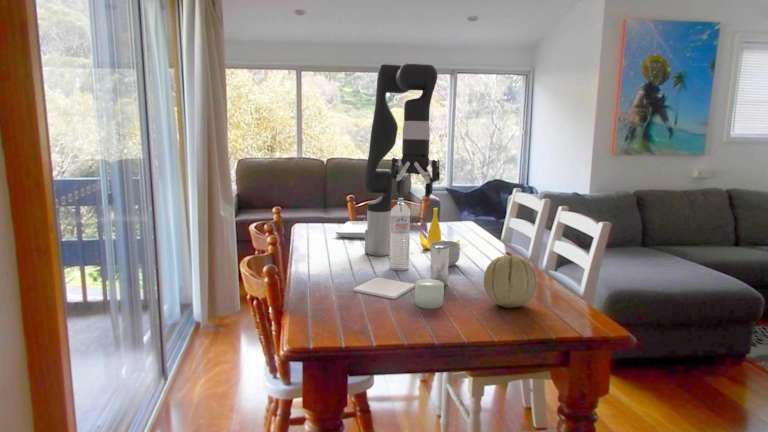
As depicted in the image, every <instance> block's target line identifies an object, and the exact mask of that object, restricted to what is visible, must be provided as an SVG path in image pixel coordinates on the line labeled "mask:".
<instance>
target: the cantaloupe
mask: <svg viewBox="0 0 768 432" xmlns="http://www.w3.org/2000/svg"><path fill="white" fill-rule="evenodd" d="M537 282H538V281H537V274H536V272H535V269H534V268H533V266H532V265H531V264H530V262H529V261H528V260H526V259H525V258H522V257H519V256H516V255H513V253H511V252H509V251H506V252H505V255H502V256H498V257H496V258H495V259H493V260H492V261H490V263H489V264H488V265H487V266H486V269H485V271H484V275H483V288H484V290H485V293H486V296H488V298H489V299H490V300H491V301H492V302H493V303H495V304H496V305H498V306H500V307H503V308H508V309H512V308H518V307H521V306H524V305H526V304H527V303H529V301H531V299H533V297H534V295H535V294H536V289H537V286H538V285H537V284H538V283H537Z"/></svg>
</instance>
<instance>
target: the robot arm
mask: <svg viewBox="0 0 768 432" xmlns="http://www.w3.org/2000/svg"><path fill="white" fill-rule="evenodd" d="M376 78H377V79H376V80H377V81H376V91H375V92H376V93H375V103H374V104H375V106H374V107H375V108H374V113H373V120H372V124H371V133H370V140H369V142H370V143H369V150H368V157H367V162H366V167H365V171H364V176H363V188H364V191H365V192H366V193H367V194H368V193H369V194H381V196H379V197H378V198H376V199H374V200H371V201H369V202H368V203H367V208H366V209H367V210H366V211H367V212H366V213H367V214H366V215H367V216H366V217H367V218H366V221H367V229H365V238H364V253H365V254H367V255H370V256H376V257H377V256H379V257H382V256H390V232H391V209H392V201H393V199H392V197H393V185H394V180H396V192H397V193H398V195H403V194H404V192H405V191H404V190H405V181H404V179H406V177H407V176H408V175H409V174H410V175H412V174H414V175H420V176H421V177H422V178H423V179H424V180H425V186H424V187H425V188H424V189H425V190H424V191H425V192H424V195H425V196H424V197H426V198H429V197H431V195H432V194H433V190H434V189H433V187H434V186H433V184H434V183H436V182H438V181H440V178H441V175H440V172H441V171H440V160H439V159H430V157H429V156H430V137H431V133H430V131H431V130H430V109H431V108H430V107H431V103H432V102H431V101H432V98H433V93H434V91H435V88H436V85H437V81H438V71H437V69H436V67H435V65H433V64H426V63H404V64H393V63H392V64H391V63H382V64H381V65H380V66H379V68H378V72H377V77H376ZM410 91H421V92H422V93H421V95H420V96H419V97H416V98H411V99H407V100H406V101H405V102H404V110H403V111H404V112H403V127H402V144H401V147H402V148H401V150H402V151H401V152H402V155H401V156H402V157H401V158H399V157H392V158H391V167H390V168H391V169H389V168H388V169H387V168H378V166H379V164H380V163H381V161H382V160H384V158H385V157H386V156H387V155H388V154H389V153H390V152H391V150H392V149H393V148H394V147H395V145H396V140H397V136H398V129H399V128H398V127H399V125H398V122H397V121H396V118H395V115H394V114H393V113H392V111H391V109H390V106H389V104H388V101H387V93H390V94H405V93H409V92H410ZM400 165H402V169H401V170H400ZM428 167H430V168H431V172H430V171H429V169H428Z"/></svg>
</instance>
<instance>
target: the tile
mask: <svg viewBox="0 0 768 432" xmlns="http://www.w3.org/2000/svg"><path fill="white" fill-rule="evenodd" d="M414 288H415V283H411V282H405V281H399V280H396V279H395V280H394V279H388V278H384V277H377V276H376V277H375V278H373V279H370V280H368V281H365V282H364V283H362V284H359V285H358V286H356V287H354V288H353V292H357V293H361V294H366V295H367V294H368V295H373V296H377V297H382V298H387V299H393V300H396V299H397V298H399V297H401V296H402V295H403V294H404V295H405V293H408V292H409V291H411V290H412V289H414Z"/></svg>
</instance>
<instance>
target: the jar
mask: <svg viewBox="0 0 768 432" xmlns="http://www.w3.org/2000/svg"><path fill="white" fill-rule="evenodd" d="M414 284H415V287H414V288H415V289H414V292H415V293H414V304H415V305H416V307H420V308H422V309H439V308H441V307H443V306H444V295H445V294H444V291H445V288H444V287H445V286H444V283H443V282H441V281H439V280H434V279H430V278H425V279H424V278H423V279H418V280H416V281H415V283H414Z"/></svg>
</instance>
